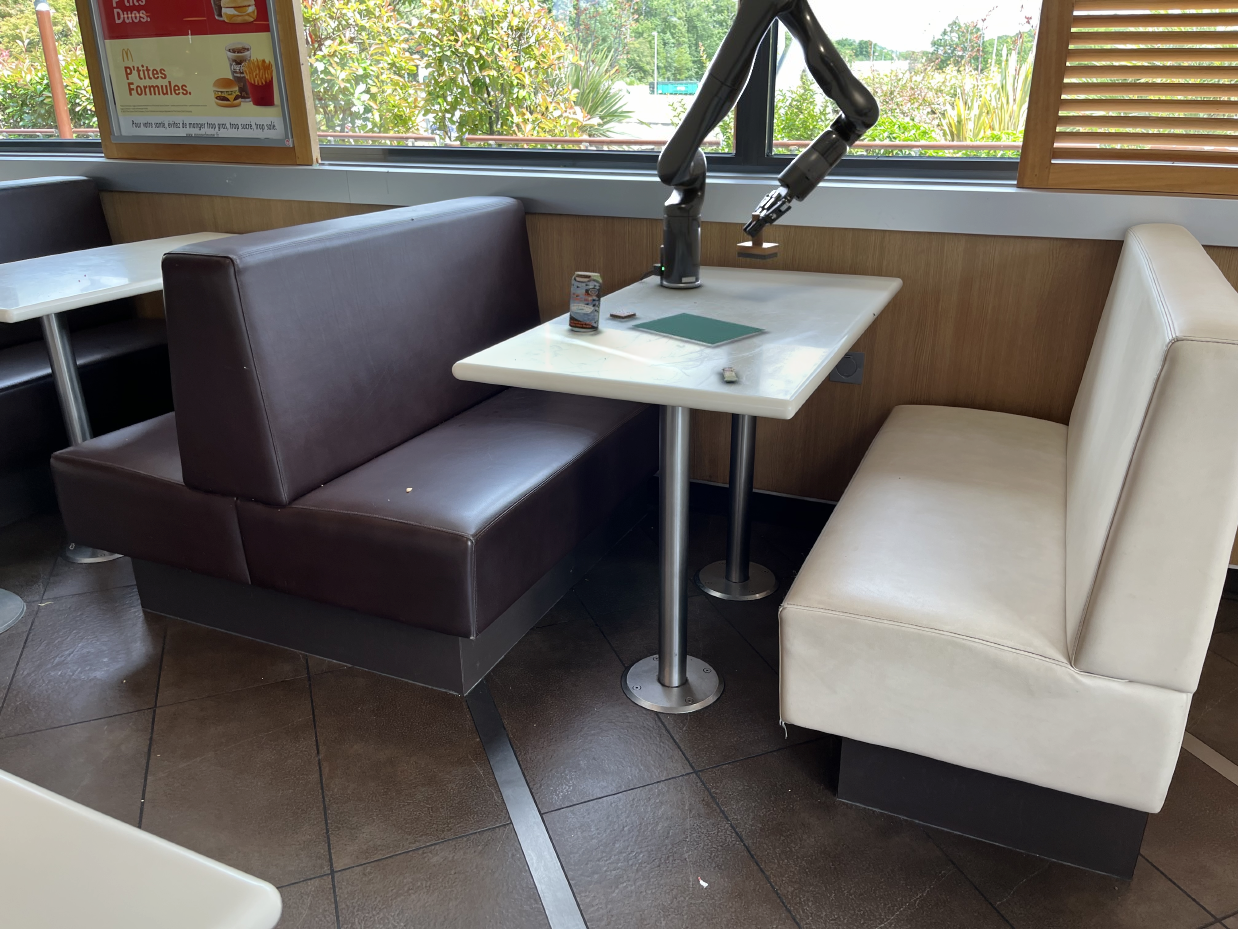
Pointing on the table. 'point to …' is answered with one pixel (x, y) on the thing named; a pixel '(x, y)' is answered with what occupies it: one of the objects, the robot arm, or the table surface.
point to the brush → (757, 246)
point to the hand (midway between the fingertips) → (747, 233)
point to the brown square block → (622, 314)
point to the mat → (698, 328)
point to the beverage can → (585, 301)
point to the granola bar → (729, 374)
